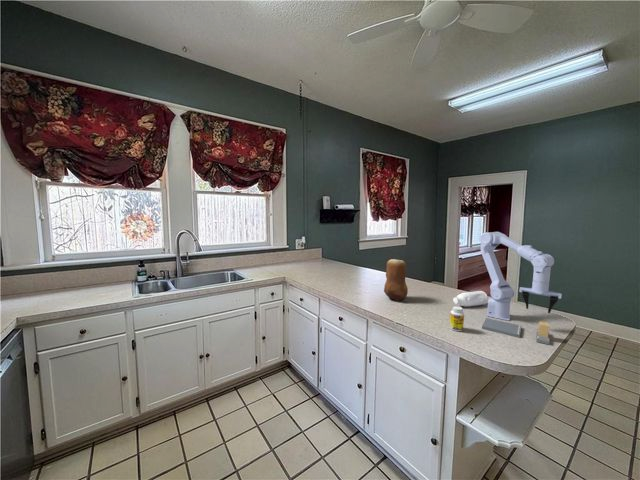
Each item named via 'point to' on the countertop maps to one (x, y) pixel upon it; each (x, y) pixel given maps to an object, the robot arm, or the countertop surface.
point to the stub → (543, 333)
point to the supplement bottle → (457, 319)
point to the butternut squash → (396, 280)
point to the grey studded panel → (502, 327)
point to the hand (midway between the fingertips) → (537, 310)
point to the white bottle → (471, 299)
